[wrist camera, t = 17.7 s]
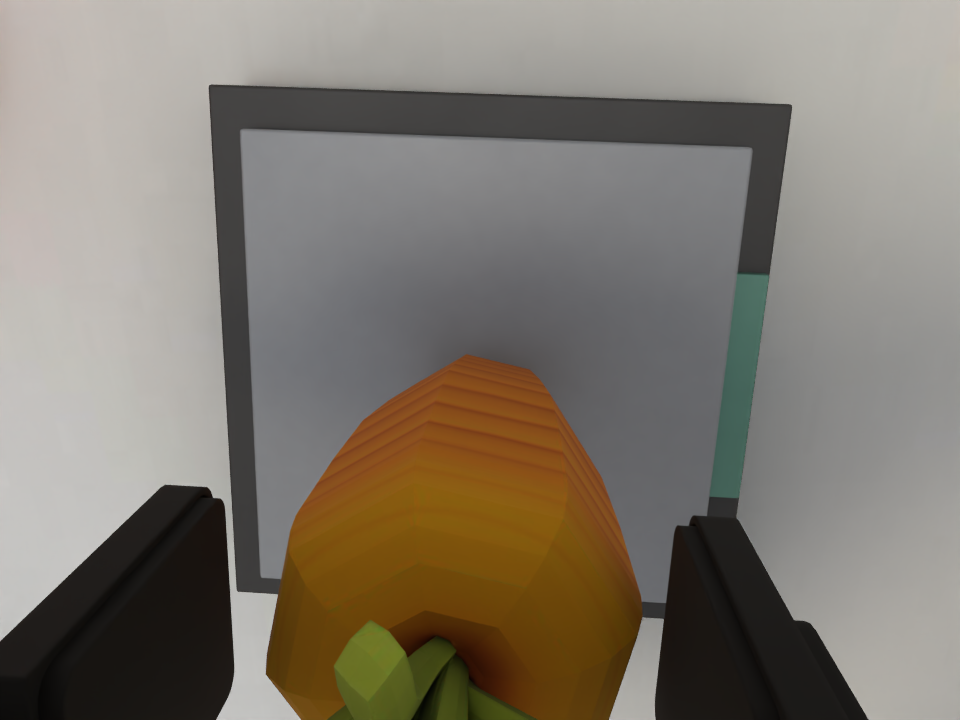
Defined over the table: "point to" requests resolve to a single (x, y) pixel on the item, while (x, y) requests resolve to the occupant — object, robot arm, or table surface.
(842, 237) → the table surface
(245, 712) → the table surface
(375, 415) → the carrot
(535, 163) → the scale
